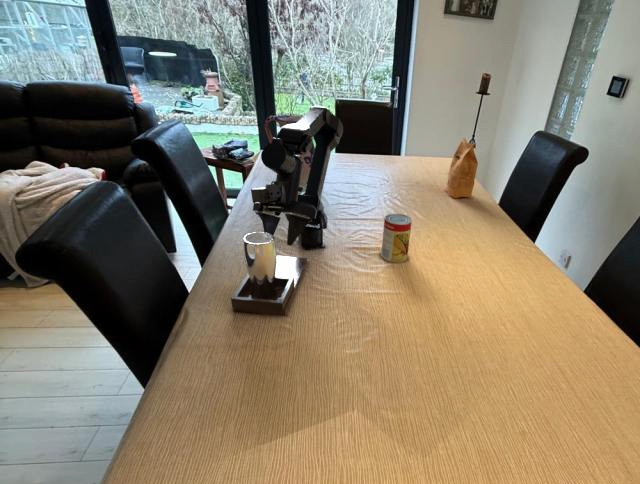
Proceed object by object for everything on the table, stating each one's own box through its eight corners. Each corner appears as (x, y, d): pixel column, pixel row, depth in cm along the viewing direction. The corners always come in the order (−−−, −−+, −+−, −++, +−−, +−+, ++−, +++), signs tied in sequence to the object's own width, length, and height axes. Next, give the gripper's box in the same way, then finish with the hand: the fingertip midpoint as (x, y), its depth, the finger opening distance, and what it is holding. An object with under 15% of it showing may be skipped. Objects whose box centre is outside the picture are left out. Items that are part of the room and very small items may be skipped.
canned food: (412, 257, 125) (417, 219, 119) (395, 265, 120) (399, 226, 114) (393, 248, 129) (397, 211, 123) (375, 255, 124) (378, 217, 118)
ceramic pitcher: (314, 189, 169) (313, 123, 155) (262, 185, 168) (256, 118, 154) (320, 176, 183) (320, 115, 170) (272, 172, 183) (268, 111, 169)
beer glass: (285, 296, 99) (282, 238, 91) (261, 307, 94) (255, 247, 86) (267, 285, 103) (262, 228, 94) (243, 295, 98) (235, 237, 90)
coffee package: (463, 189, 185) (473, 137, 173) (473, 199, 175) (484, 145, 163) (442, 189, 183) (450, 136, 171) (451, 199, 173) (460, 144, 161)
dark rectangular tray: (265, 259, 117) (264, 246, 115) (307, 262, 117) (307, 250, 115) (231, 313, 94) (229, 298, 92) (284, 318, 94) (283, 303, 92)
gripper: (238, 171, 101) (228, 235, 102) (283, 168, 89) (271, 241, 90) (277, 184, 109) (267, 243, 110) (322, 183, 97) (311, 249, 98)
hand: (278, 243), depth 102 cm, fingers open, 9 cm apart
